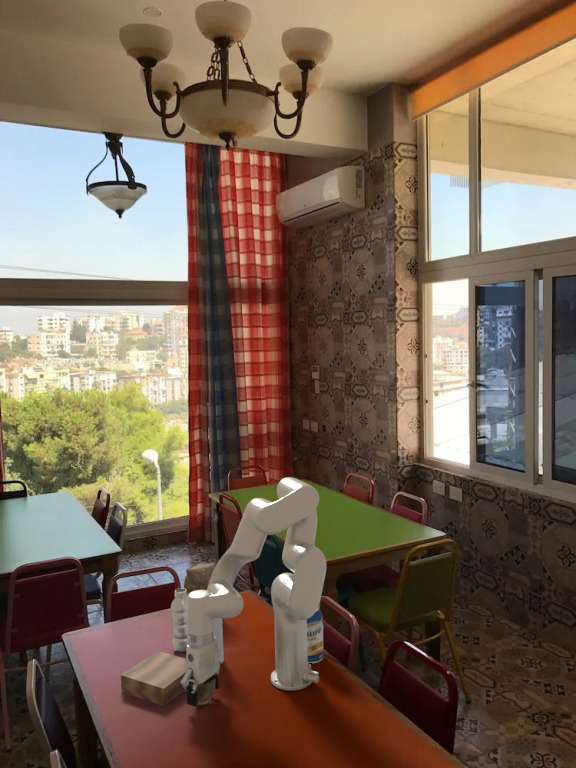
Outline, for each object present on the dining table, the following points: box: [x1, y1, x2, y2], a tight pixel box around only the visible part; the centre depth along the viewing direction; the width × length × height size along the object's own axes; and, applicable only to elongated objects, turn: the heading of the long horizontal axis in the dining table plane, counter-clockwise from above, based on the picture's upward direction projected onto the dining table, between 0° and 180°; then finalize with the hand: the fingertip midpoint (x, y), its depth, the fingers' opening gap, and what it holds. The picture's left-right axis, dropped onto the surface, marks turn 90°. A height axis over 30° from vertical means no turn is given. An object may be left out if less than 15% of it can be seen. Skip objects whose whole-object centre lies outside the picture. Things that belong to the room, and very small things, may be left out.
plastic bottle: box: [170, 587, 188, 653], centre depth 207 cm, size 6×7×20 cm
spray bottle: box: [214, 618, 224, 665], centre depth 198 cm, size 6×6×22 cm
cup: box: [190, 673, 216, 707], centre depth 176 cm, size 8×7×8 cm
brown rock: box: [183, 561, 217, 597], centre depth 229 cm, size 13×13×20 cm
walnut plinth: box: [120, 650, 186, 707], centre depth 186 cm, size 16×16×5 cm
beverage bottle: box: [307, 602, 324, 664], centre depth 199 cm, size 8×8×20 cm
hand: (203, 696), depth 176 cm, fingers open, 9 cm apart
